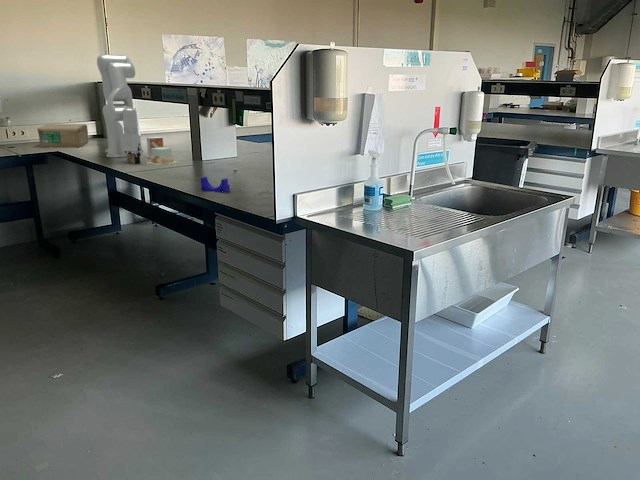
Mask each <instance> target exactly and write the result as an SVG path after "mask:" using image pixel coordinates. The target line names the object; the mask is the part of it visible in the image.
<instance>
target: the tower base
mask: <svg viewBox="0 0 640 480" xmlns="http://www.w3.org/2000/svg"><path fill="white" fill-rule="evenodd" d="M149 159H150V162H151V163H159V164H165V163H170V162H174V161H175V160H174V154H172V155H169V156H164V157H160V156H152V155H151V156H150V158H149Z"/></svg>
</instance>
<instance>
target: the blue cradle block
mask: <svg viewBox="0 0 640 480" xmlns="http://www.w3.org/2000/svg"><path fill="white" fill-rule="evenodd" d="M228 181H229V179H228V178H223V179H221V181H220V184H219V186H216V187H215V186H213V185H212V184H210V182H209V180H208V176H202V177H200V186H201V187H200V190H201V191H202V190H203V192H212V191H215V192H214V193H222V191H223V192H225V193H228V192H230V191H231V190H230V189H231V188H230V184H229V182H228ZM229 190H230V191H229ZM227 191H228V192H227Z"/></svg>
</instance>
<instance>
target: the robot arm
mask: <svg viewBox="0 0 640 480" xmlns="http://www.w3.org/2000/svg"><path fill="white" fill-rule="evenodd" d="M96 65H97V68H98V70H99V74H100V75H101V76H100V77H101V80H102V90H103V97H104V99H105V101H107V103H106V104H105V105H103V107H102V114H103V117H104V121H105V128H106V130H105V131H106V139H107V147H108V148H106V149H105V153H107V154H106V157H108V158H125V157H126V158H127V154H129V153H135V164H134V165H138V164H141V155H142V154H143V152H144V150H143V148H142V141H141V137H140V133H139V126H138V125H139V124H138V113H137V110H136V109H135V108H134V104H133V102H134V101H133V93H132V89H131V88H130V86H129V85H128V82H127V79H133V78H135V77H136V69H135V66H134V63H133V61H132V60H131V59H130V58H129V57H128V56H127V55H124V54H101V55H98V56H97V58H96ZM114 102H123V103H114ZM120 122H122V124H121V123H120Z"/></svg>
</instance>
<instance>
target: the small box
mask: <svg viewBox="0 0 640 480" xmlns="http://www.w3.org/2000/svg"><path fill="white" fill-rule="evenodd" d="M146 147H147V158H148V159H150V156H151V149H152V148H158V147H164V139H163V137H161V136H149V137H148V136H146Z"/></svg>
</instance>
